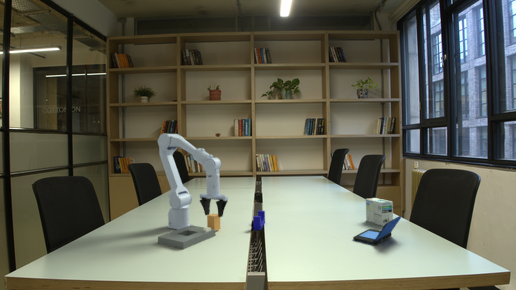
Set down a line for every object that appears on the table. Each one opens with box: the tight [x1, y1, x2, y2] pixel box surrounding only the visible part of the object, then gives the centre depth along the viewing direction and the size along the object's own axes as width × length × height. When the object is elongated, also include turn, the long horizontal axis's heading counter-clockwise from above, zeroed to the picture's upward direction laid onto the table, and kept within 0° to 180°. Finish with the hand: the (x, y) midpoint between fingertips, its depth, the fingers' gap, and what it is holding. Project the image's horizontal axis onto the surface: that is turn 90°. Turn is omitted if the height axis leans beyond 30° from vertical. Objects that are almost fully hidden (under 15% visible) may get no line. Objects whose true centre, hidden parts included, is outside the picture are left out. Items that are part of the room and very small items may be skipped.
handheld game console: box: [352, 215, 402, 246], centre depth 114 cm, size 16×13×9 cm
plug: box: [206, 213, 221, 232], centre depth 129 cm, size 4×4×7 cm
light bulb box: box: [365, 197, 394, 227], centre depth 137 cm, size 11×7×11 cm, turn 22°
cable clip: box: [252, 210, 266, 231], centre depth 135 cm, size 12×4×6 cm, turn 169°
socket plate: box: [157, 224, 216, 250], centre depth 118 cm, size 14×18×4 cm
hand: (213, 215), depth 129 cm, fingers open, 7 cm apart
